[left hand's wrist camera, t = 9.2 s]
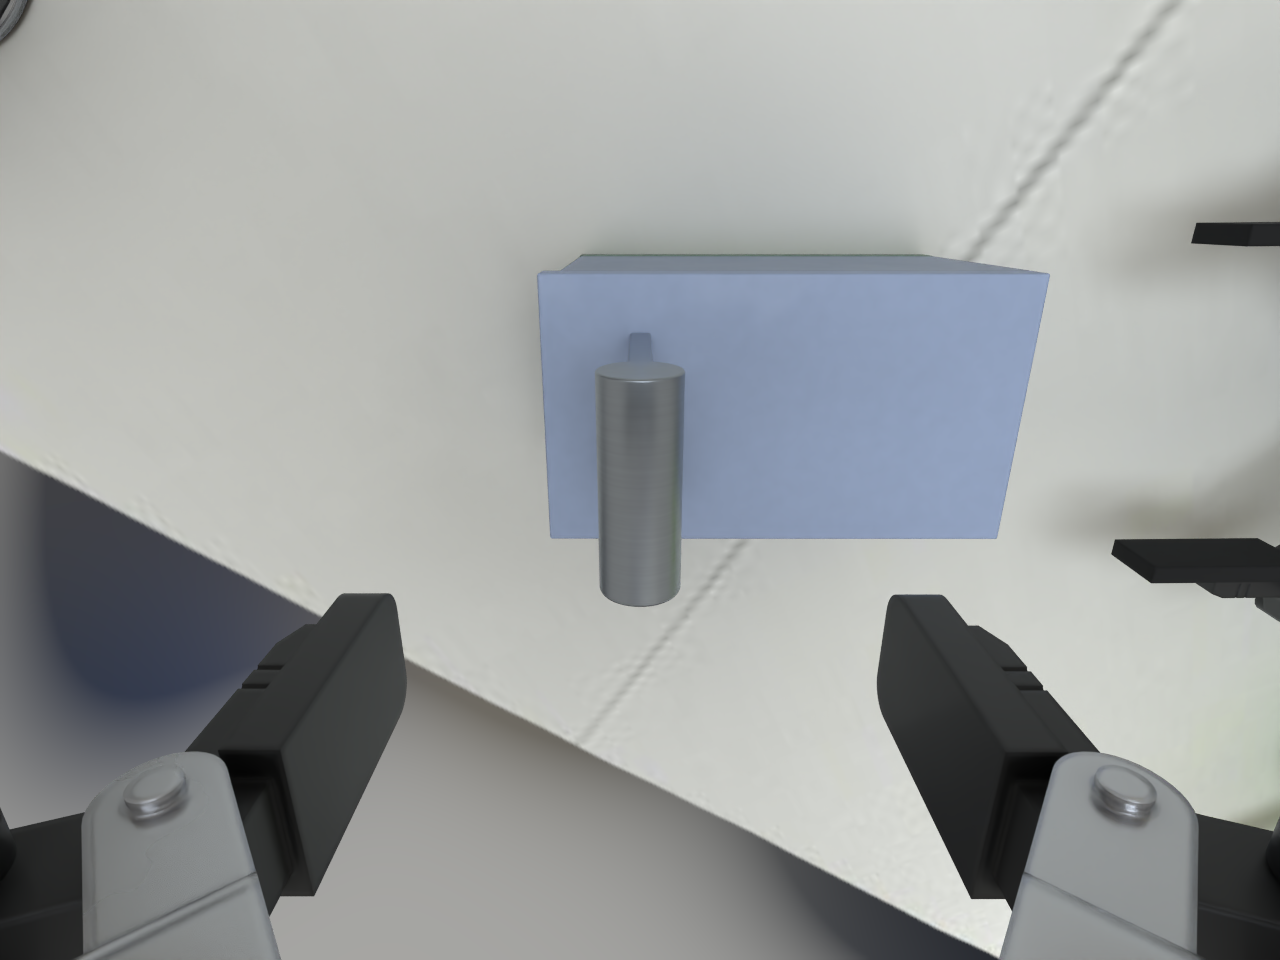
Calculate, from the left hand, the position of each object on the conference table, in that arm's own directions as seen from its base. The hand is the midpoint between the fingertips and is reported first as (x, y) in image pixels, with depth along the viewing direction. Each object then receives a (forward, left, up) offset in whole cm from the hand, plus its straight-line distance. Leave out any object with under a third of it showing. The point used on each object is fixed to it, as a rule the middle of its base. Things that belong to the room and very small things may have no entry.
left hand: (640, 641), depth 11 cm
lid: (+5, -1, -15) cm, 16 cm away
